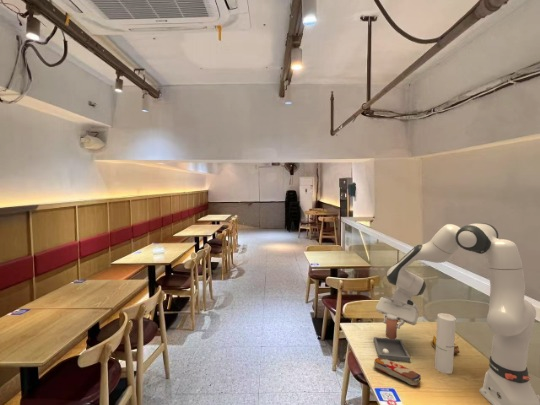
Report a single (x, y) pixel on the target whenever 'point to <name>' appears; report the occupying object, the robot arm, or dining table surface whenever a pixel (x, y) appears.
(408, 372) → the pencil case
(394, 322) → the shaker
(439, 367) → the cylindrical container
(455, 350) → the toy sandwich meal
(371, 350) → the dining table surface
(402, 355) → the tray
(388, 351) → the mixing ball
